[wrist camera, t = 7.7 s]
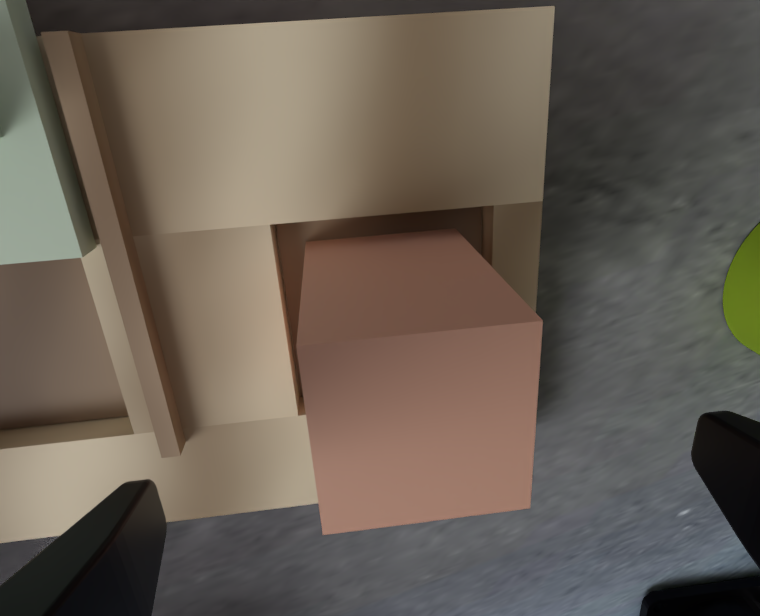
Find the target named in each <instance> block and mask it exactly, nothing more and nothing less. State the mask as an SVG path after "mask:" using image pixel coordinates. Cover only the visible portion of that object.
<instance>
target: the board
mask: <svg viewBox="0 0 760 616" xmlns="http://www.w3.org/2000/svg"><path fill="white" fill-rule="evenodd" d="M554 12H555V6H543V7H526V8H509V9H492V10H474V11H457V12H440V13H423V14H406V15H389V16H371V17H354V18H337V19H320V20H303V21H286V22H269V23H251V24H234V25H217V26H200V27H183V28H166V29H148V30H131V31H114V32H97V33H76V32H72V31H52V32H41V35H42V36H36V38H37V41H38V45H39V48H40V52H41V55H42V59H43V62H44V66H45V69H46V73H47V76H48V80H49V83H50V87H51V90H52V94H53V97H54V100H55V104H56V107H57V111H58V114H59V118H60V121H61V125H62V128H63V132H64V135H65V139H66V142H67V146H68V149H69V153H70V156H71V159H72V163H73V166H74V170H75V173H76V177H77V180H78V184H79V187H80V191H81V194H82V198H83V201H84V205H85V208H86V211H87V215H88V218H89V222H90V225H91V229H92V232H93V236H94V239H95V243H96V246H97V247H96V248H95V249H94V250H92V251H91V252H90V253H88V254H87V255H85V256H84V257H83V258H72V259H60V260H49V261H38V262H26V263H15V264H4V265H0V543H5V542H13V541H21V540H29V539H37V538H45V537H53V536H61V535H62V534H63V533H64V532H65V531H67V530H68V529H69V528H70V527H71V526H73V525H74V524H75V523H76V522H77V521H79V520H80V519H81V518H82V517H83V516H85V515H86V514H87V513H88V512H89V511H91V510H92V509H93V508H94V507H95V506H96V505H98V504H99V503H100V502H101V501H102V500H104V499H105V498H106V497H107V496H108V495H110V494H111V493H112V492H113V491H114V490H116V489H117V488H118V487H119V486H120V485H122V484H123V483H125V482H128V481H136V480H144V479H150V480H152V481H153V482H154V483H155V485H156V487H157V490H158V494H159V497H160V500H161V504H162V507H163V510H164V514H165V517H166V522H173V521H181V520H189V519H197V518H205V517H213V516H221V515H229V514H237V513H245V512H253V511H261V510H269V509H277V508H285V507H293V506H301V505H309V504H317V503H318V496H317V489H316V482H315V475H314V468H313V461H312V454H311V447H310V440H309V433H308V426H307V419H306V412H305V405H304V397H303V390H302V383H301V376H300V369H299V362H298V355H297V348H296V343H297V332H298V321H299V310H300V300H301V289H302V278H303V267H304V256H305V245H306V242H309V241H320V240H332V239H343V238H354V237H365V236H377V235H388V234H399V233H410V232H422V231H433V230H444V229H456V230H457V231H458V232H459V233H460V234H461V235H462V236H463V237H464V238H465V239H466V240H467V241H468V242H469V243H470V244H471V245H472V246H473V247H474V249H475V250H476V251H477V252H478V253H479V254H480V255H481V256H482V257H483V258H484V259H485V260H486V261H487V262H488V263H489V264H490V265H491V266H492V268H493V269H494V270H495V271H496V272H497V273H498V274H499V275H500V276H501V277H502V278H503V279H504V280H505V281H506V282H507V283H508V284H509V285H510V286H511V288H512V289H513V290H514V291H515V292H516V293H517V294H518V295H519V296H520V297H521V298H522V299H523V300H524V301H525V302H526V303H527V304H528V305H529V306H530V308H531V309H532V310H533V311H534V312H535V313H536V301H537V285H538V269H539V253H540V237H541V221H542V205H543V189H544V173H545V157H546V141H547V125H548V109H549V92H550V76H551V60H552V44H553V28H554Z"/></svg>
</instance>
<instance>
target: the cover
mask: <svg viewBox="0 0 760 616" xmlns="http://www.w3.org/2000/svg"><path fill="white" fill-rule="evenodd" d="M96 247H97V246H96V243H95V239H94V236H93V232H92V229H91V225H90V222H89V218H88V215H87V211H86V208H85V205H84V201H83V198H82V194H81V191H80V187H79V184H78V180H77V177H76V173H75V170H74V166H73V163H72V159H71V156H70V153H69V149H68V146H67V142H66V139H65V135H64V132H63V128H62V125H61V121H60V118H59V114H58V111H57V107H56V104H55V100H54V97H53V94H52V90H51V87H50V83H49V80H48V76H47V73H46V69H45V66H44V62H43V59H42V55H41V52H40V48H39V45H38V41H37V38H36V35H35V31H34V28H33V24H32V21H31V17H30V14H29V10H28V7H27V3H26V0H0V265H4V264H15V263H26V262H38V261H49V260H60V259H72V258H83V257H84V256H85V255H87V254H88V253H90V252H91V251H92V250H94V249H95V248H96Z"/></svg>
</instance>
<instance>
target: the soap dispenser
mask: <svg viewBox="0 0 760 616" xmlns="http://www.w3.org/2000/svg"><path fill="white" fill-rule="evenodd" d="M723 310H724V316H725V319H726V322H727V325H728V327H729V329H730V330H731V332H732V334H733V335H734V336H735V337H736V339H737V340H738V341H739V342H741V343H742V344H743V345H744V346H746V347H747V348H749V349H751V350H752V351H754V352H756V353H757V354H759V355H760V223H759V224H758V225H757V226H756V227H755V228H754V229H753V230H752V232H751V233H750V234H749V235H748V237H747V238H746V239H745V241H744V242H743V243H742V245H741V246H740V248H739V250H738V251H737V253H736V255H735V257H734V259H733V261H732V263H731V265H730V268H729V270H728V273H727V277H726V280H725V284H724V291H723Z"/></svg>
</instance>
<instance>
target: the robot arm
mask: <svg viewBox="0 0 760 616" xmlns="http://www.w3.org/2000/svg"><path fill="white" fill-rule="evenodd" d="M691 457H692V462H693V465H694V467H695V469H696V471H697V472H698V474H699V475H700V477H701V479H702V480H703V482H704V483H705V485H706V487H707V488H708V490H709V492H710V493H711V495H712V496H713V498H714V500H715V501H716V503H717V504H718V506H719V508H720V509H721V511H722V513H723V514H724V516H725V517H726V519H727V521H728V522H729V524H730V525H731V527H732V529H733V530H734V532H735V534H736V535H737V537H738V538H739V540H740V541H741V543H742V544H743V546H744V547H745V549H746V550H747V552H748V553H749V555H750V556H751V557H752V559H753V560H754V562H755V563H756V564H757V566H758V567H759V568H760V422H758V421H755V420H752V419H749V418H747V417H744V416H741V415H739V414H736V413H733V412H730V411H717V412H709V413H704V414H702V415H701V416H700V418H699V419H698V423H697V427H696V432H695V437H694V441H693V446H692V451H691ZM166 530H167V523H166V517H165V514H164V510H163V507H162V504H161V500H160V497H159V494H158V490H157V487H156V485H155V483H154V482H153V481H152V480H150V479H144V480H136V481H128V482H125V483H123V484H122V485H120V486H119V487H118V488H117V489H116V490H114V491H113V492H112V493H111V494H110V495H108V496H107V497H106V498H105V499H104V500H102V501H101V502H100V503H99V504H98V505H96V506H95V507H94V508H93V509H92V510H91V511H89V512H88V513H87V514H86V515H85V516H83V517H82V518H81V519H80V520H79V521H77V522H76V523H75V524H74V525H73V526H71V527H70V528H69V529H68V530H67V531H65V532H64V533H63V534H62V535H61V536H59V537H58V538H57V539H56V540H55V541H53V542H52V543H51V544H50V545H49V546H48V547H46V548H45V549H44V550H43V551H42V552H40V553H39V554H38V555H37V556H36V557H34V558H33V559H32V560H31V561H30V562H28V563H27V564H26V565H25V566H24V567H22V568H21V569H20V570H19V571H18V572H16V573H15V574H14V575H13V576H12V577H11V578H9V579H8V580H7V581H6V582H5V583H3V584H2V585H1V586H0V616H151V615H152V610H153V604H154V598H155V593H156V587H157V582H158V576H159V571H160V565H161V560H162V554H163V549H164V543H165V538H166ZM639 616H760V576H759V577H752V578H745V579H738V580H731V581H725V582H718V583H711V584H704V585H697V586H690V587H683V588H676V589H669V590H662V591H655V592H652V593H649V594H648V595H646V596H645V597H644V599H643V601H642V605H641V610H640V615H639Z"/></svg>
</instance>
